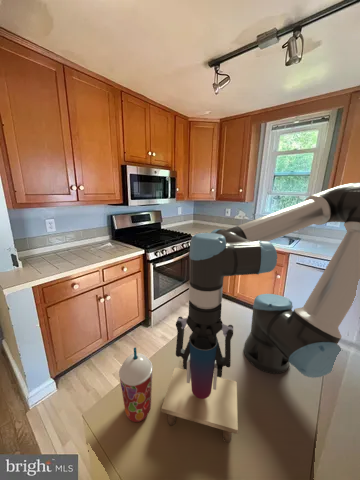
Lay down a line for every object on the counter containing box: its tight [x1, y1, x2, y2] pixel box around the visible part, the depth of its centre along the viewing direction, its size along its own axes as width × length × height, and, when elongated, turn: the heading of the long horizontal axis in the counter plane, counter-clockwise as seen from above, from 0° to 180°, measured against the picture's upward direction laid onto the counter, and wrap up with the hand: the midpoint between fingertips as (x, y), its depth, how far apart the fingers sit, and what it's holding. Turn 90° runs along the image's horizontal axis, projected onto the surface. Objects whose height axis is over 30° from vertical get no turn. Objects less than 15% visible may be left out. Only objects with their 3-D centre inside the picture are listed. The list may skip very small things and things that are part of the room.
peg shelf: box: [160, 367, 239, 443], centre depth 52 cm, size 18×12×6 cm, turn 76°
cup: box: [188, 333, 219, 399], centre depth 49 cm, size 7×7×15 cm
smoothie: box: [118, 347, 154, 423], centre depth 51 cm, size 8×8×20 cm
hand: (201, 381), depth 51 cm, fingers closed on cup, 6 cm apart
